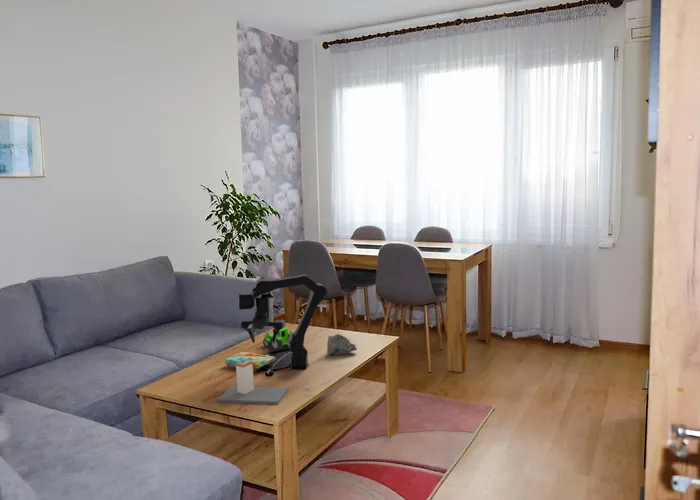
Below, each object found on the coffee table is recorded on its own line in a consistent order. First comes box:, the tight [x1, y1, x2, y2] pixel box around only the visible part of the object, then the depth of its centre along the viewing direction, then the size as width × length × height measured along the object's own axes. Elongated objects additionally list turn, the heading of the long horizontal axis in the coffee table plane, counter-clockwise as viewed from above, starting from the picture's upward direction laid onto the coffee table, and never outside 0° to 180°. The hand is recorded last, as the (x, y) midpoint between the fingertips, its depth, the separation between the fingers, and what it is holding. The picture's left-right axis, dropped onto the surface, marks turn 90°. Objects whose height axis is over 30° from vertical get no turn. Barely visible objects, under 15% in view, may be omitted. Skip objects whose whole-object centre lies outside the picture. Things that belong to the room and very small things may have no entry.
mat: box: [217, 385, 289, 405], centre depth 217 cm, size 24×14×1 cm, turn 80°
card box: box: [235, 359, 255, 394], centre depth 218 cm, size 5×4×12 cm
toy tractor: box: [262, 326, 292, 352], centre depth 278 cm, size 11×16×10 cm
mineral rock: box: [326, 333, 358, 356], centre depth 262 cm, size 13×11×10 cm
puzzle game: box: [223, 351, 277, 372], centre depth 251 cm, size 12×5×20 cm
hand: (263, 343), depth 241 cm, fingers open, 9 cm apart
